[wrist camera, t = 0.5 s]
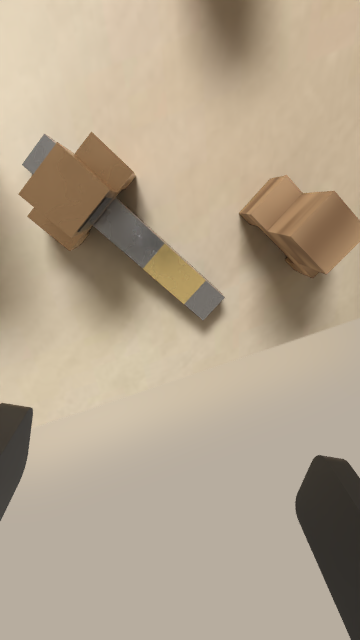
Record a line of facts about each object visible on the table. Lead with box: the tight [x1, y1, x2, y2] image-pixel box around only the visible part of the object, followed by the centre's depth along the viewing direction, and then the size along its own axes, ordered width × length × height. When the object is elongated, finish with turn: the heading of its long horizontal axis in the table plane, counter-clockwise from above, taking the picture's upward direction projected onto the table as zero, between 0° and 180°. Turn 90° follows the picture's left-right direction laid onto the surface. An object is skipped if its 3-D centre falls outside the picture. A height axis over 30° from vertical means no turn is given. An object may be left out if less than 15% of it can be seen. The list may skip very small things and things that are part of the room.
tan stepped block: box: [239, 175, 360, 278], centre depth 28 cm, size 8×4×9 cm, turn 48°
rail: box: [19, 132, 225, 320], centre depth 27 cm, size 8×20×9 cm, turn 48°
